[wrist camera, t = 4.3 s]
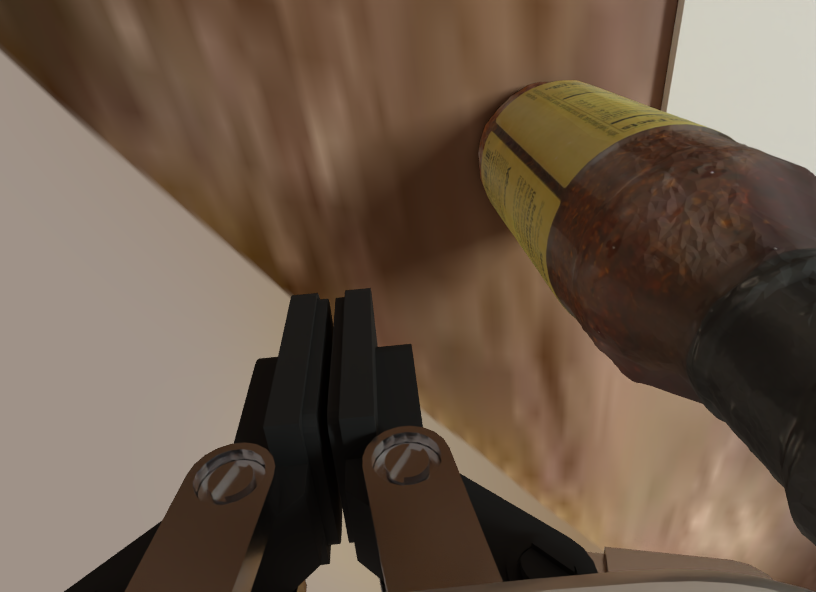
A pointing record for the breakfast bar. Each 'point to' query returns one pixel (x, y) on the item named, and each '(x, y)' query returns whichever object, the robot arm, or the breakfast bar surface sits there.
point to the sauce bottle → (672, 258)
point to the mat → (747, 73)
